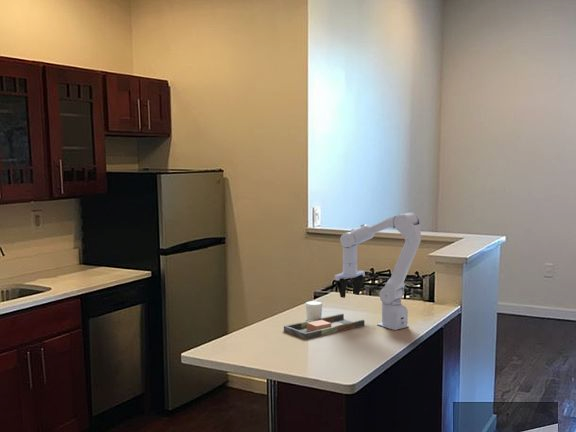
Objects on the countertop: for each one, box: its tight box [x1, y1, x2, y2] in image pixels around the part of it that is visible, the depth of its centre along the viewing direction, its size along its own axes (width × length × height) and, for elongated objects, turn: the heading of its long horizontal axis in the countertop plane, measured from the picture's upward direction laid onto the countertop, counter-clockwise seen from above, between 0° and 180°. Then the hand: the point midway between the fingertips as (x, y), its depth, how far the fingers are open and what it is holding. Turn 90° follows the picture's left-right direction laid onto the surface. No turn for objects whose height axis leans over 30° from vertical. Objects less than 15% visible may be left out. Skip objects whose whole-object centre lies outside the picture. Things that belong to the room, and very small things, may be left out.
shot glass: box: [305, 300, 323, 321], centre depth 242 cm, size 7×7×7 cm
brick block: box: [306, 320, 332, 332], centre depth 228 cm, size 6×7×3 cm
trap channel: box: [283, 313, 366, 340], centre depth 230 cm, size 13×29×2 cm, turn 127°
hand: (349, 295), depth 243 cm, fingers open, 7 cm apart
